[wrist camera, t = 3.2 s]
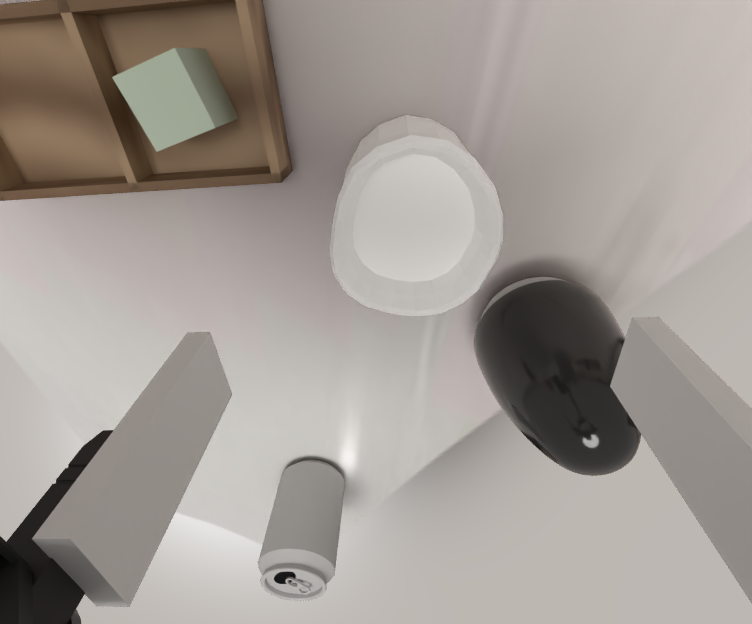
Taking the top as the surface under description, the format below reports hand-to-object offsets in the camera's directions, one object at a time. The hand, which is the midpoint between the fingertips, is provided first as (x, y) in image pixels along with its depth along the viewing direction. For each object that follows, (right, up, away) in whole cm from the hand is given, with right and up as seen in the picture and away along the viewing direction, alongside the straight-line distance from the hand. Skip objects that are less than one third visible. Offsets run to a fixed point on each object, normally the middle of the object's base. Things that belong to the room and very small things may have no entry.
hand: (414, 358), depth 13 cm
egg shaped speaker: (+12, +2, +21) cm, 24 cm away
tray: (-17, +16, +14) cm, 27 cm away
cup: (+1, +11, +16) cm, 19 cm away
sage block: (-13, +15, +12) cm, 23 cm away
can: (-9, -18, +35) cm, 40 cm away
